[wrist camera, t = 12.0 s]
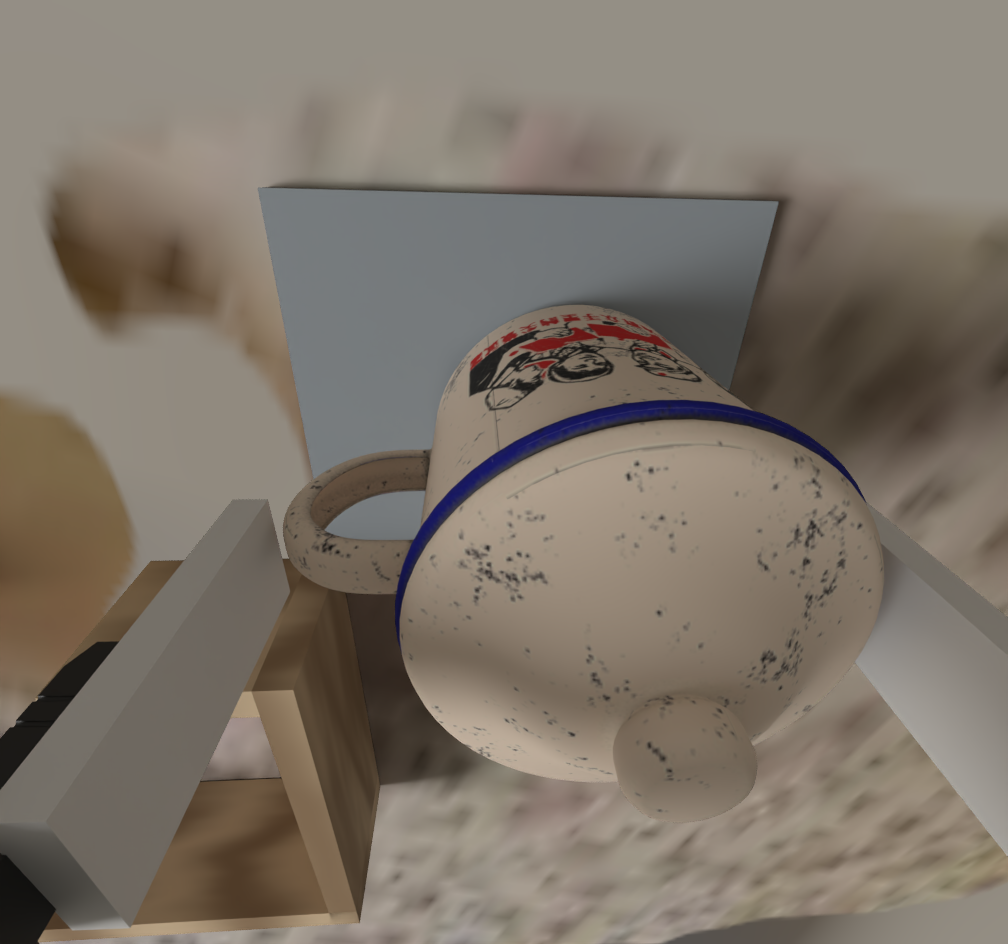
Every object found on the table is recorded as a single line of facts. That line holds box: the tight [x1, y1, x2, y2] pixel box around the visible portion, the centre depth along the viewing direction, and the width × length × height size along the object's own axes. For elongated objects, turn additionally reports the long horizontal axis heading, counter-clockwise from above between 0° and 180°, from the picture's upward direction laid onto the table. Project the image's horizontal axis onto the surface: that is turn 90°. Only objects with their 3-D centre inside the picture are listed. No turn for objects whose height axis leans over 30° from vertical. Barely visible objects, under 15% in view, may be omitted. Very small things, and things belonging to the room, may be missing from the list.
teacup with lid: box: [283, 305, 884, 823], centre depth 12 cm, size 12×9×12 cm
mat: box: [258, 187, 779, 540], centre depth 17 cm, size 14×14×1 cm
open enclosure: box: [35, 559, 380, 942], centre depth 21 cm, size 24×16×6 cm
